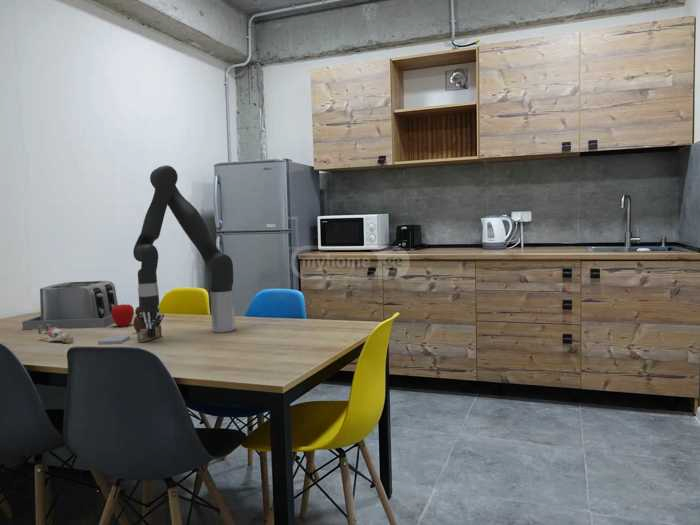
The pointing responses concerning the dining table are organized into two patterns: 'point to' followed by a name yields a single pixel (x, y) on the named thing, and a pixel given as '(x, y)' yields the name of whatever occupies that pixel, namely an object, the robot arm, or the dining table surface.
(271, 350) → the dining table surface
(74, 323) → the toaster tray
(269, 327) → the dining table surface
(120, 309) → the apple
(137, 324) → the wooden figurine
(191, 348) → the dining table surface
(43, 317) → the toaster
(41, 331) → the figurine
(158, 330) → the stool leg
